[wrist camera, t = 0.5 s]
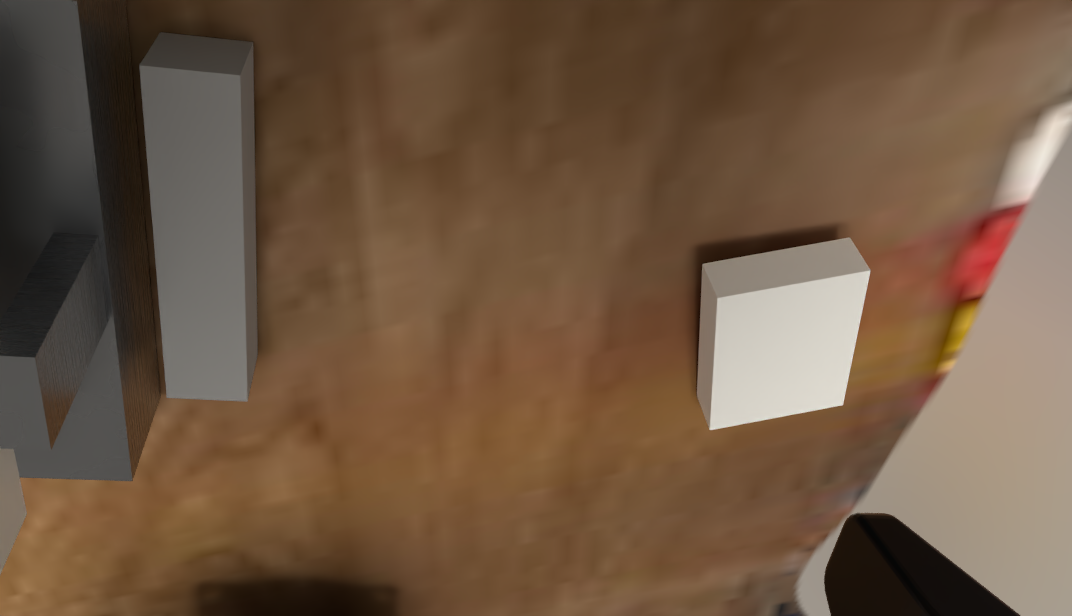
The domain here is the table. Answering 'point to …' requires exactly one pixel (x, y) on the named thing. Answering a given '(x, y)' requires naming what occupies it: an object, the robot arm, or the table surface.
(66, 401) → the grey stand
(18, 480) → the rocker switch
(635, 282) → the table surface
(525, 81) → the table surface
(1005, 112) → the table surface
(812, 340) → the eraser
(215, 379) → the tall grey pillar
